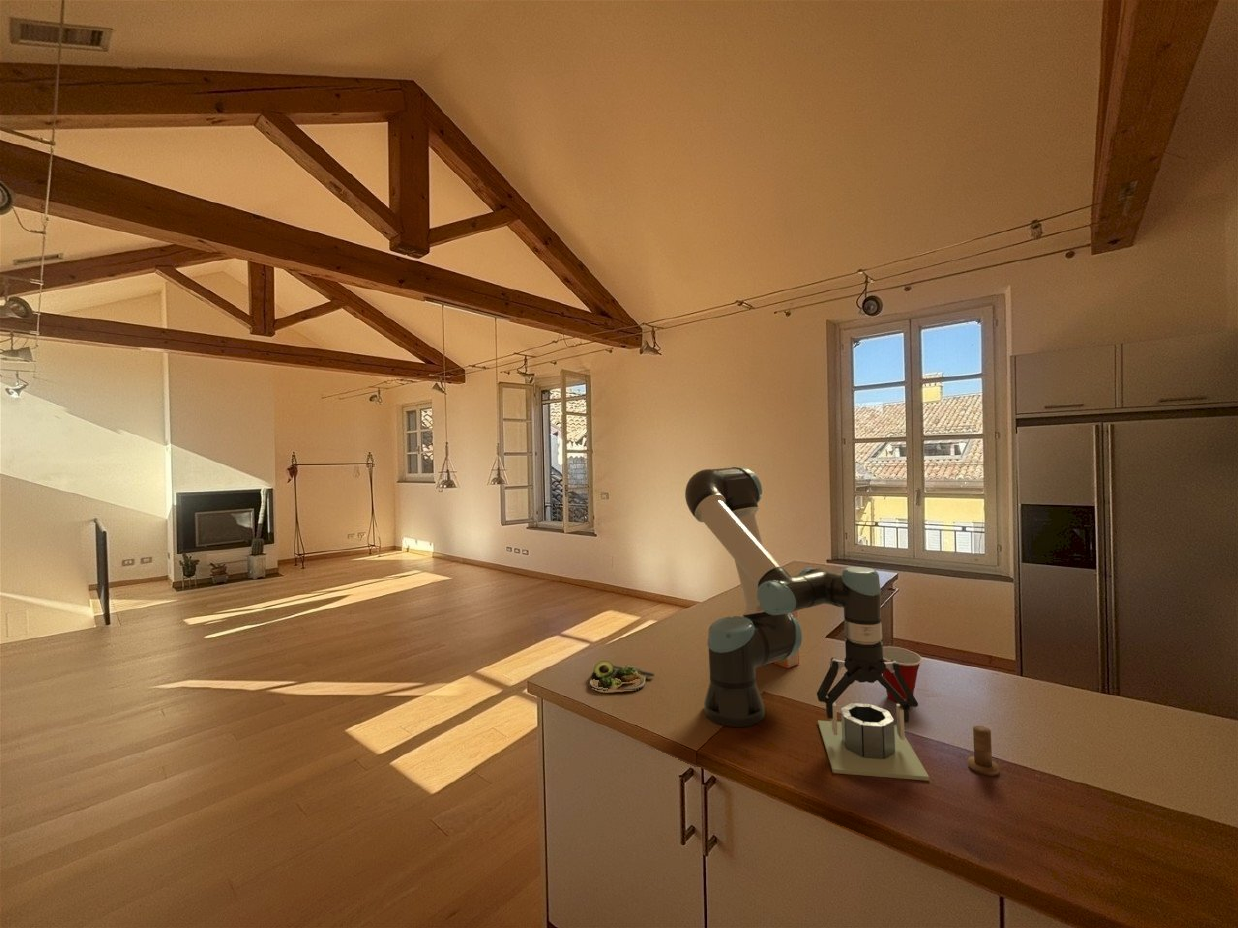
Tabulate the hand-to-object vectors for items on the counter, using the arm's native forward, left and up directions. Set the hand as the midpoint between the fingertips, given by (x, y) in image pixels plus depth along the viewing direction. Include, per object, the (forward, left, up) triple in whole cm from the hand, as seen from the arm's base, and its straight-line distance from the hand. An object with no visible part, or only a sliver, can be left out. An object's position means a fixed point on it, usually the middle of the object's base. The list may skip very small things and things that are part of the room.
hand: (867, 734), depth 115 cm
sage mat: (0, 0, -3) cm, 3 cm away
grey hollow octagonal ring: (0, 0, -2) cm, 3 cm away
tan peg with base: (+21, -4, -3) cm, 22 cm away
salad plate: (-64, +28, -4) cm, 70 cm away
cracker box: (-16, +49, -4) cm, 52 cm away
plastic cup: (+14, +26, -4) cm, 30 cm away
